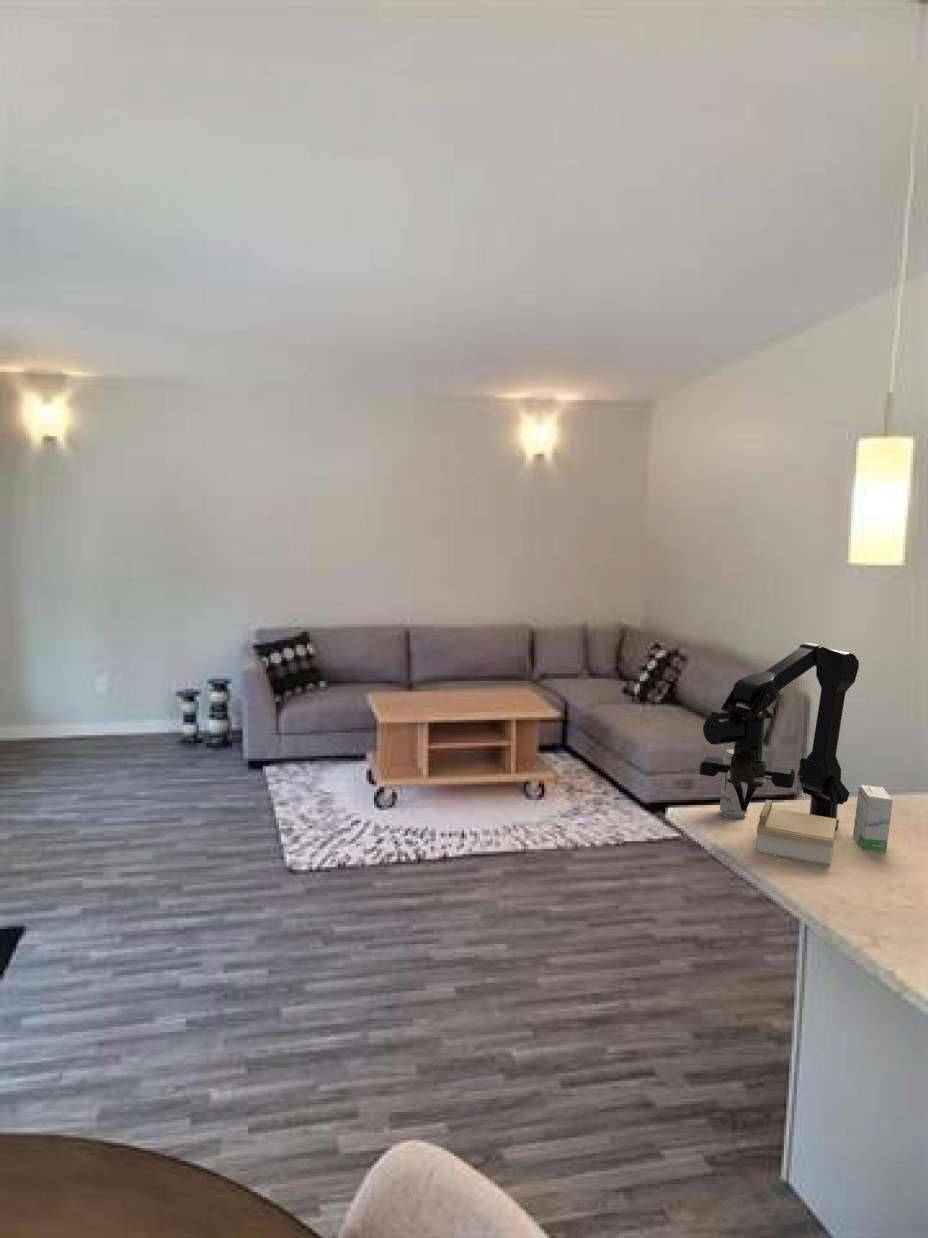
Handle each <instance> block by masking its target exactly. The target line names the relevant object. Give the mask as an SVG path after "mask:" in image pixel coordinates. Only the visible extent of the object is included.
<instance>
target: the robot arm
mask: <svg viewBox="0 0 928 1238" xmlns="http://www.w3.org/2000/svg"><path fill="white" fill-rule="evenodd" d="M814 667H816V668H815V671H816V672H815V673H816V674H815V676H816V680H817V681H818V683H819V686H820V688H821V689H820V696H819V703H818V710H817V717H816V720H815V721H816V723H815V730H814V735H813V743H812V747H811V752H810V753H809V754H808V755H807V757H806V758H805V757H802V758H801V759H800V761H799V769H798V771H797V775H798V776H799V777H798V779H799V780H798V781H799V783H800V784H801V786H800V787H801V788H802V789H801V791H802V793H803V794H804V795H805V794H806V795H809V796H810V802H809V803H810V805H809V806H810V807H809V814H810V815H816V816H823V817H829V818H835V819H837V823H836V828H835V831H837V830H838V828H839V822H840V820H839V818H838V806H839V805H844V803H847V802H848V800H849V796H850V791H849V790H848V789H847V787H846V785H844V784H843V782H842V768H841V766H840V763H839V760H838V758H837V751H838V750H837V749H838V743H839V736H840V731H841V723H842V717H843V711H844V704H845V699H846V698H845V697H846V694H847V691H848V690H849V689H850V688H851V687H852V685H853V684H854V683H855V682H856V679H857V675H858V671H859V668H860V663H859V659H857V656H856V655H855V654H854V653H851V652H848V651H847V652H845V651H841V650H836V649H831V648H827V647H824V646H823V645H822V644H815V643H811V642H810V643H809V642H805V643H802V644H800V645H799V647H798V648H797V649H796V650H794V651H793V652H791V653H790V654H788V655H787V656H786V657H784V658H782V659H781V660H780V661H777V663H775V664H774V665H773V666H771V667H769V668H768V669H767V670H764V671H762V672H761V673H760V672H759V673H754V674H750V675H747V676H746V677H742V678H740V679H739V680H737V681H736V682H735V684H734V685H733V687H732V690H731V692H730V693H729V695H728V697H727V698H726V700H725V702H724V703H723V704H722V705H721V710H712V711H711V713H710V717H708V718H706V720H705V722H704V724H703V727H702V731H703V732H702V733H703V736H704V738H705V740H706V742H708V744H711V745H714V746H716V745H723V744H730V743H734V744H733V746H734V747H733V749H734V754H733V756H732V758H731V764H724V763H723V757H722V758H721V757H714V756H708V755H707V756H706V757H704V758H703V759H702V761H701V762H700V764H699V773H698V774H699V775H701V776H706V777H715V776H717V775H718V774H719V773H722V772H723V773H728V778H727V782H729V783H732V785H733V786H734V788H735V790H736V792H737V795H738V799H739V802H740V806H741V810H742V811H746V810H747V811H748V807H749V805H750V802H751V801H752V797H753V796H754V793H755V792H756V790H757V789H758V788H763V787H764V785H765V783H766V780H771V783H772V784H773V785H774V786H775V787H779V788H786V789H792V788H793V785H794V784H795V775H796V773H795V771H794V769H793V768H790V767H783V766H777V765H776V766H774V769H773V770H770V769H767V764H766V761H765V760H763V749H764V748H763V747H764V735H765V732H764V731H765V720H768V719H772V718H773V717H774V716H773V714H772V713H771V712H770V711H769V710H768V708H769V707H770V706H771V705H772V704H773V703H774V702H775V701H776V700H777V699H778V696H779V692H780V691H782V689H784V688H785V687H786V686H787V685H789V684H791V683H792V682H794V681H795V680H796V679H798V678H799V677H800V676H802V675H803V674H805V673H806V672H807V671H809V670H810V669H812V668H814ZM745 783H746V784H748V787H747V793H746V798H745Z"/></svg>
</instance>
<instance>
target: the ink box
mask: <svg viewBox="0 0 928 1238" xmlns="http://www.w3.org/2000/svg"><path fill="white" fill-rule="evenodd" d="M893 802H894V800H893V799H892V797H891V796H890V795H889V794H888V792H887V791H886V790H885V788H884V787H883V786H873V785H866V784H860V785H859V786H858V795H857V800H856V809H855V816H854V817H855V818H854V823H853V824H854V827H853V833H852V836H853V837H854V839H855V841H856V842H857V844H858V845H859V847H860V849H861V850H862V851H872V852H880V853H887V851H888V850H887V848H888V840H889V833H890V825H891V823H890V822H891V816H892V810H893V809H892V808H893Z"/></svg>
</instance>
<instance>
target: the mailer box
mask: <svg viewBox="0 0 928 1238" xmlns="http://www.w3.org/2000/svg"><path fill="white" fill-rule="evenodd" d="M756 842H757V844H756V846H757V847H756V853H757V852H758V853H757V854H760V853H766V854H771V855H776V856H775V857H777V856H779V857H778V858H782V857H784V858H783V859H787V858H790V859H789V860H794V861H798V860H799V861H798V862H805V863H809V864H815V865H820V866H825V867H826V866H827V867H830V866H831V862H832V856H833V851H834V850H833V849H834V843H835V838H834V839H833V847H826V846H821V845H815V844H809V843H804V842H798V841H792V840H787V839H781V838H775V837H770V836H764V835H758V834H757V841H756ZM766 854H765V855H766ZM771 855H770V856H771Z"/></svg>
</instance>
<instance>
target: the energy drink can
mask: <svg viewBox="0 0 928 1238" xmlns="http://www.w3.org/2000/svg"><path fill="white" fill-rule="evenodd" d="M725 752H726V753H725V754H724V755H723V757H722V759H723V763H724V764H731V758H732V756H733V754H734V748H730V749H726V751H725ZM721 773H722V774H721V784H720V785H721V786H720V787H721V788H720V803H719V811H721V814H722V815H723V817H726V818H730V819H742V818H744V817H745V815H747V813H748V809H747V810H746V811H742V810H741V806H740V802H739V799H738V795H737V792H736V790H735V788H734V786H733V785H732V783H729V782H727V778H728V773H723V772H721ZM747 787H748V784H746V783H745V798H746V793H747Z"/></svg>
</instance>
